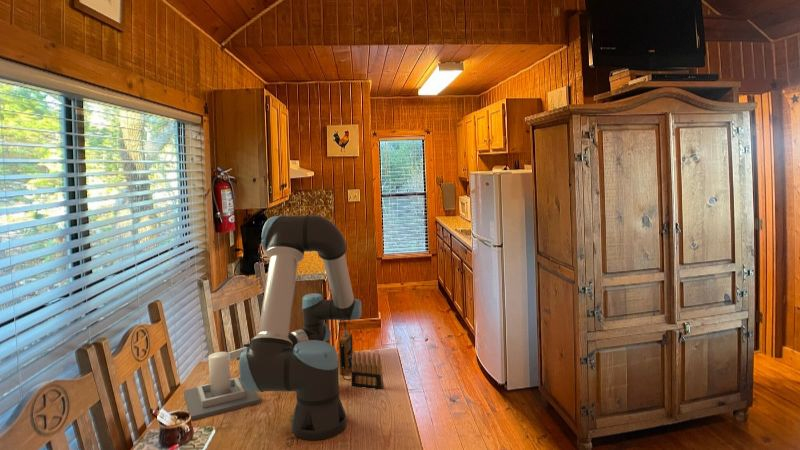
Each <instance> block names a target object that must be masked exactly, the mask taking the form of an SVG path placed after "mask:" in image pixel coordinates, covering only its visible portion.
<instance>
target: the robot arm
mask: <svg viewBox="0 0 800 450" xmlns="http://www.w3.org/2000/svg"><path fill="white" fill-rule="evenodd" d="M261 231H262V232H261V236H260V237H261V240H260V241H261V247H262V249H263V251H264V252H265V255H266V256H267V257H268V259H269V264H268V270H267V275H266V282H265V286H264V294H263V300H262V307H261V312H260V317H259V323H258V331H257V334H256V335H255V336H254V337H253V338H251V340H250V343H245V344H243V347H241V348H238V349H236V350H232V351H229V352H228V353H229V362H230V361H233V360H236V359H238V361H239V362H238V373H239V378H241V382H242V384H243V386H244V387H245V388H246V389H247V390H250V391H256V392H260V393H263V392H289V393H290V392H295V394H296V403H295V407H294V411H293V413H292V414H293V415H292V418H291V431H292V433H293V435H294V436H295V437H297V438H299V439H302V440H307V441H319V440H320V441H322V440H326V439H329V438H332V437H334V436H337V435H338V434H340V433H341V432H343V431H344V430H345V429H346V427H347V424H348V423H347V414H346V411H345V409H344V406H343V403H342V400H341V398H340V386H339V385H340V384H339V361H338V352H337V349H336V347H335V346H334V345H332V344H331V343H329V342H327V341H329V339H330V337H331V330H330V327H329V325H328V324H327V322H324V321H326V320H327V321H331V320H332V321H340V320H341V321H343V320H344V316H345V315H348V316H345V320H344V321H351V320H353V321H354V320H360V318H361V317H362V308H363V307H362V305H363V304H362V301H361V299H357V298H354V297H355V296H354V292H353V287H352V283H351V279H350V272H349V267H348V264H347V258H346V254H347V250H348V248H347V243H346V240H345V236H344V235H343V233H342V231H340V229H339V228H338V226H337V225H336V224H334V222H332V221H331V220H330V219H329V218H326V217H324V216H323V215H318V214H303V215H302V214H300V215H297V214H296V215H285V214H281V215H275V216H271V217H269V218H268V219H267V220H266V221H265V223H264V225H263V227H262V230H261ZM305 252H317V255H318V256H319V258H320V259H322V262H323V266H324V269H325V275H326V278H327V281H328V285H329V289H330V295H331V296H332V299H323V295H322V294H321V293H316V292H315V293H314V292H313V293H308V294H305V295H303V296H302V302H301V303H302V306H301V311H302V324H303V326H302V328H300V329H296V330H294V331H291V332H290V325H291V318H292V312H293V303H294V295H295V289H296V288H295V286H296V279H297V274H298V273H297V272H298V264H299V263H300V262H301V261H303V260H304V257H305V256H304V255H305ZM348 317H349V319H348Z"/></svg>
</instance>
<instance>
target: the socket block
mask: <svg viewBox="0 0 800 450" xmlns="http://www.w3.org/2000/svg"><path fill="white" fill-rule="evenodd" d="M230 381H231V393H229V394H224V395H220V396H216V397H211V387H210V382H209V383H206V384H205V383H204V384H201V385H197V386H196V387H194V388H188V389H185V390H183V395H184V396H183V397H184V399H185V403H186V407H187V411H188V414H189V413H190V415H191V421H194V420H199V419H202V418H203V419H204V418H206V417H210V416H215V415H218V414H222V413H226V412H229V411H233V410H237V409H241V408H245V407H248V406H249V407H250V406H253V405H257V404H261V397H259V395H258V393H257V391H250V390H247V389H246V388H245V387H244V386H243V384H242V382H241V378H240V377H232V378H231V377H230Z"/></svg>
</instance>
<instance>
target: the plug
mask: <svg viewBox="0 0 800 450" xmlns="http://www.w3.org/2000/svg"><path fill="white" fill-rule="evenodd" d="M208 370H209V371H208V373H209V383H210V387H211V397H216V396H220V395H224V394H229V393H231V381H230V379H231V369H230V360H229V353H228V352H227V351H218V352H213V353H211V354H209V355H208Z"/></svg>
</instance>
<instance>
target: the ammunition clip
mask: <svg viewBox="0 0 800 450" xmlns="http://www.w3.org/2000/svg"><path fill="white" fill-rule="evenodd" d="M356 355H357V356H356ZM376 357H377V358H376ZM382 369H383V368H382V358H381V354H380V352H378V353H377V356H376V353H375V352H373V353H372V357H371V353H370V352H367V355H366V353H365V351H363V352H362V355H361V352H360V351H359V350H358V351H357V354H356V352H355V350H353V354H352V369H351V387H353V386H355V388H361V387H366V388H365V389H369V388H375V389H374V390H378V389H382V388H383V389H384V377H383V371H382ZM383 389H382V390H383Z"/></svg>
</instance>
